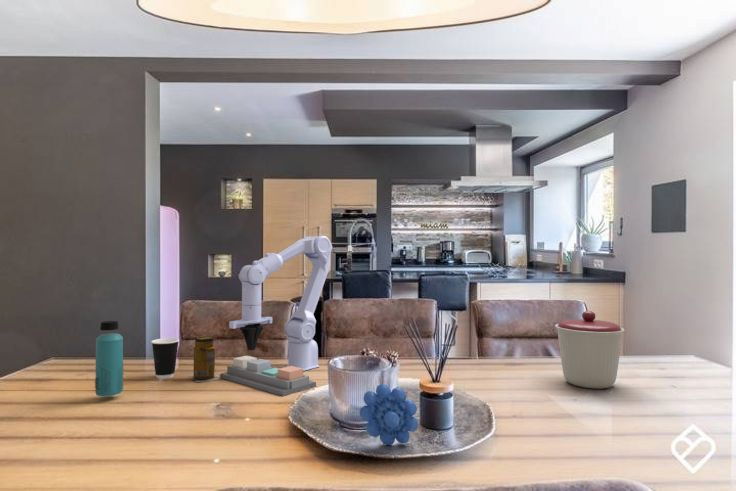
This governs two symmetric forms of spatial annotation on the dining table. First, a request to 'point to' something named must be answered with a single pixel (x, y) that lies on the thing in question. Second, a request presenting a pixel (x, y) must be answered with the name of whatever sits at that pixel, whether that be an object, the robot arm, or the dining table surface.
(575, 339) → the canister
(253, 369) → the slate key
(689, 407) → the dining table surface
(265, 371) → the teal key
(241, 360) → the cream key
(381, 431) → the blue flower
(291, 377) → the terracotta key
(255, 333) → the robot arm
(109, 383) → the beverage bottle
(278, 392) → the keypad
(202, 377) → the condiment
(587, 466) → the dining table surface
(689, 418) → the dining table surface
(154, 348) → the dixie cup
